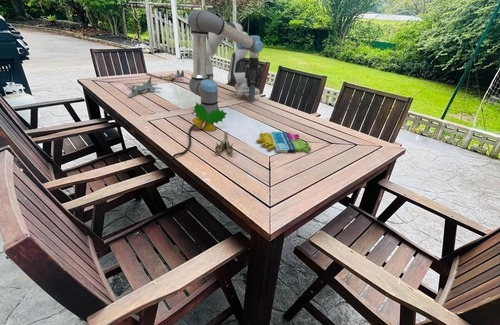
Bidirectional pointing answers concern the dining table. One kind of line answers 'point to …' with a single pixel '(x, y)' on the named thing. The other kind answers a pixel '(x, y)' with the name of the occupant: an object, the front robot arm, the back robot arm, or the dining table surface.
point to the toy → (173, 76)
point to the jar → (251, 93)
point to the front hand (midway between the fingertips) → (252, 86)
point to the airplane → (142, 88)
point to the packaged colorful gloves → (283, 142)
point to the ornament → (207, 117)
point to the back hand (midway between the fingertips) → (252, 94)
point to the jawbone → (224, 145)
